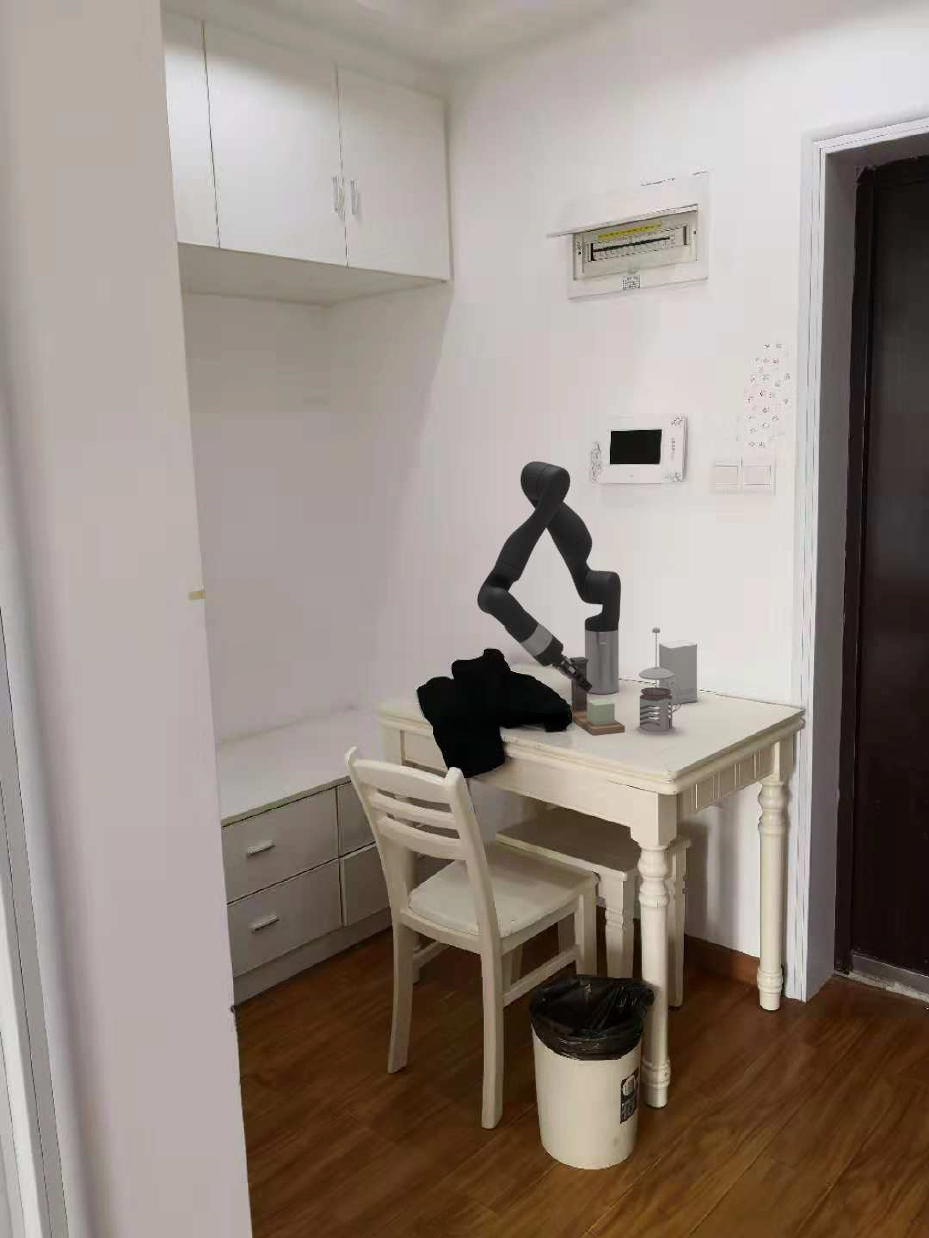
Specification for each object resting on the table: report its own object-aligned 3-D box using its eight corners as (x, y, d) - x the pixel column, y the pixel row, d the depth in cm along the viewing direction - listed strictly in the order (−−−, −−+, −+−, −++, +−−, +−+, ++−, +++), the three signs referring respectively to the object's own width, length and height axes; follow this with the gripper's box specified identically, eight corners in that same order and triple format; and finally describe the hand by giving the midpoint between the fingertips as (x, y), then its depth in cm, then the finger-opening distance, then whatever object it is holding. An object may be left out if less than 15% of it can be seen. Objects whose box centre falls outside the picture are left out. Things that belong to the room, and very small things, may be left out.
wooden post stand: (560, 712, 267) (559, 657, 265) (589, 709, 269) (589, 655, 267) (593, 735, 247) (592, 676, 244) (624, 731, 249) (624, 673, 246)
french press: (650, 722, 257) (650, 622, 252) (691, 730, 249) (692, 627, 244) (626, 731, 250) (626, 628, 246) (668, 739, 242) (668, 633, 238)
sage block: (587, 720, 254) (587, 700, 253) (606, 718, 255) (606, 698, 254) (595, 725, 249) (595, 705, 248) (614, 723, 250) (614, 703, 249)
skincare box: (685, 696, 280) (685, 639, 278) (698, 702, 274) (699, 643, 272) (657, 699, 278) (657, 642, 275) (670, 705, 272) (670, 646, 269)
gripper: (560, 637, 253) (607, 682, 259) (540, 627, 267) (586, 670, 272) (540, 660, 253) (587, 705, 258) (521, 649, 266) (567, 692, 271)
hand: (586, 686), depth 265 cm, fingers closed on wooden post stand, 3 cm apart
